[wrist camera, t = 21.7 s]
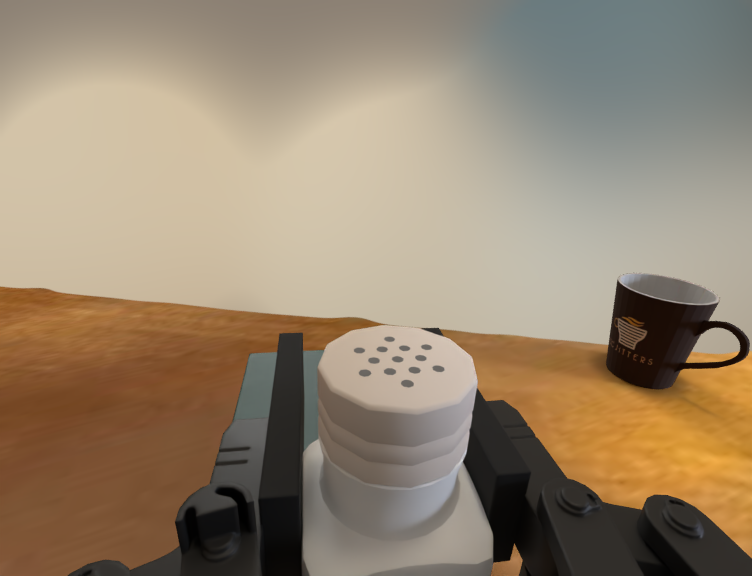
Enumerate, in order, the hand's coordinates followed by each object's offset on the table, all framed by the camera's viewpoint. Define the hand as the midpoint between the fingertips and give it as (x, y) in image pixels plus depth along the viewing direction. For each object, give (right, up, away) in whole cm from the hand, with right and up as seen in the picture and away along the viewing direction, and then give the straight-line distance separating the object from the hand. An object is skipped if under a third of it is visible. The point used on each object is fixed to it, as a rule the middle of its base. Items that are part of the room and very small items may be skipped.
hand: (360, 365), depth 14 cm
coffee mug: (+29, -7, +29) cm, 42 cm away
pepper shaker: (+1, -8, -3) cm, 8 cm away
